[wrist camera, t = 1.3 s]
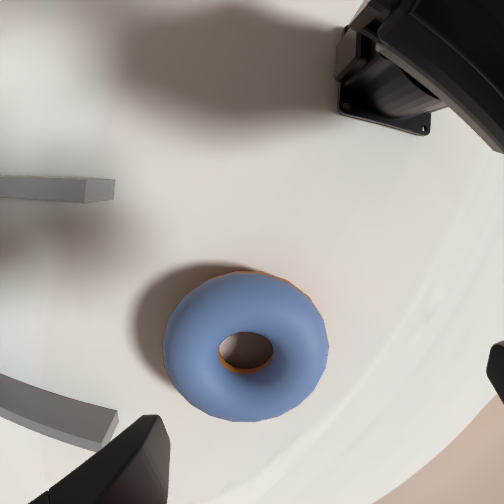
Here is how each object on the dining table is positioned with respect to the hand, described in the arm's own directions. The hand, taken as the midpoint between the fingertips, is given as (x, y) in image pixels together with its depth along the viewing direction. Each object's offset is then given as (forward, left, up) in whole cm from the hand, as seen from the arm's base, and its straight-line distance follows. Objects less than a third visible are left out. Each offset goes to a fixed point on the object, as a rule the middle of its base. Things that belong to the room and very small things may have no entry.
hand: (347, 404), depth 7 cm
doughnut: (+2, +5, -14) cm, 14 cm away
